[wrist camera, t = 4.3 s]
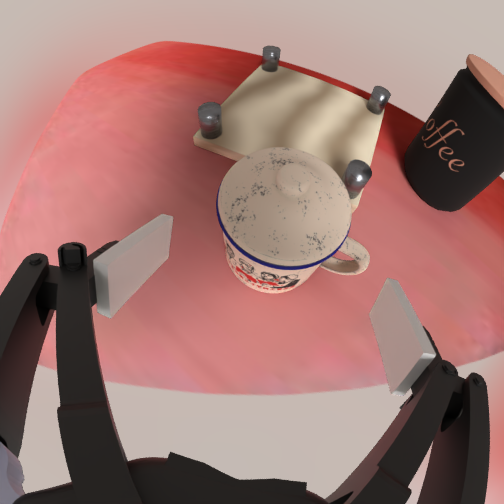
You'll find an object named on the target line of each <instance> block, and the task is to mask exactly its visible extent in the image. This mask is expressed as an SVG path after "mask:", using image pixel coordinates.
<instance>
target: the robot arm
mask: <svg viewBox="0 0 504 504" xmlns="http://www.w3.org/2000/svg"><path fill="white" fill-rule="evenodd" d="M172 225H173V216H169V215H165V214H161V215H159V216H158V217H156V218H154V219H153V220H151V221H150V222H148V223H147V224H145V225H144V226H142V227H140V228H139V229H137V230H136V231H134V232H133V233H131V234H130V235H128V236H127V237H125V238H124V239H122V240H121V241H120V242H119V241H113V242H109V243H107V244H105V245H104V246H102V247H101V248H99V249H98V250H96V251H95V252H94V253H92V254H91V255H89V256H88V257H87V249H86V246H85V245H83V244H81V243H78V242H71V243H66V244H63V245H62V246H60V247H59V249H58V258H59V266H60V267H58V266H53V265H49V262H48V257H47V256H46V255H44V254H41V253H34V254H31V255H29V256H27V257H26V258H25V259H24V260H23V262H22V263H21V265H20V266H19V267H18V269H17V270H16V272H15V273H14V275H13V276H12V278H11V280H10V281H9V283H8V284H7V286H6V287H5V289H4V291H3V292H2V294H1V296H0V504H405V503H406V502H407V500H408V499H409V497H410V495H411V489H409V488H408V486H409V484H410V482H411V481H412V479H413V477H414V475H415V474H416V472H417V470H418V468H419V467H420V465H421V463H422V461H423V459H424V457H425V455H426V454H427V452H428V450H429V448H430V446H431V443H432V441H433V445H432V449H431V454H430V459H429V463H428V468H427V471H426V475H425V479H424V482H423V486H422V489H421V493H420V496H419V499H418V502H417V504H484V503H485V497H486V489H487V481H488V470H489V451H490V450H489V449H490V424H489V407H488V406H489V405H488V394H487V386H486V382H485V381H484V378H483V377H482V376H481V375H479V374H477V373H471V374H470V375H469V376H468V377H467V378H466V379H464V378H462V377H459V376H458V372H457V369H456V368H455V367H454V365H452V364H451V363H450V362H448V361H446V360H442V358H441V356H440V354H439V351H438V349H437V347H436V346H435V343H434V341H433V340H432V337H431V335H430V333H429V332H428V331H427V330H426V328H425V327H424V326H422V324H421V322H420V321H419V319H418V317H417V315H416V313H415V311H414V309H413V307H412V305H411V304H410V302H409V300H408V298H407V296H406V295H405V293H404V291H403V289H402V288H401V286H400V284H399V282H398V281H397V280H394V279H390V278H387V279H386V281H385V283H384V285H383V287H382V289H381V291H380V293H379V295H378V297H377V299H376V301H375V303H374V305H373V307H372V309H371V311H370V313H369V316H370V320H371V323H372V326H373V329H374V333H375V336H376V340H377V343H378V346H379V350H380V354H381V357H382V361H383V365H384V368H385V372H386V376H387V380H388V384H389V388H390V392H391V395H400V396H404V395H405V394H406V392H407V391H408V390H409V389H410V388H411V390H412V393H413V394H412V395H411V396H410V397H409V398H408V399H407V400H406V401H405V402H404V404H403V405H402V406H401V407H400V409H401V410H400V412H399V414H398V415H397V416H396V418H395V420H394V421H393V422H392V424H391V425H390V426H389V428H388V429H387V431H386V432H385V433H384V435H383V436H382V437H381V439H380V440H379V441H378V443H377V444H376V445H375V446H374V448H373V449H372V450H371V451H370V453H369V454H368V455H367V457H366V458H365V459H364V460H363V461H362V462H361V463H360V465H359V466H358V467H357V468H356V469H355V470H354V471H353V473H352V474H351V475H350V476H349V477H348V478H347V479H346V480H345V481H344V483H342V484H341V486H340V487H339V488H338V489H337V490H336V491H335V492H333V493H332V494H331V495H330V496H328V497H327V498H326V499H323V498H322V497H320V496H318V495H317V494H314V493H312V492H310V491H308V490H306V486H307V483H306V482H297V481H289V480H281V479H255V480H239V479H235V478H233V477H231V476H229V475H227V474H225V473H223V472H221V471H219V470H217V469H215V468H212V467H211V466H209V465H207V464H205V463H203V462H200V461H196V460H193V459H190V458H187V457H184V456H181V455H178V454H175V453H172V452H170V454H169V456H168V458H158V457H149V458H140V459H135V460H131V461H128V460H127V457H126V455H125V452H124V449H123V447H122V444H121V441H120V438H119V435H118V432H117V429H116V426H115V422H114V419H113V415H112V412H111V409H110V404H109V401H108V397H107V393H106V389H105V384H104V380H103V375H102V371H101V366H100V361H99V355H98V350H97V344H96V337H95V331H94V323H93V315H92V308H91V307H92V306H93V305H94V304H95V303H97V311H98V313H100V314H102V315H104V316H106V317H108V318H112V317H113V316H114V315H115V314H116V313H117V311H118V310H119V309H120V308H121V307H122V306H123V305H124V304H125V303H126V302H127V301H128V300H129V298H130V297H131V296H132V295H133V294H134V293H135V292H136V291H137V290H138V289H139V288H140V287H141V286H142V285H143V284H144V283H145V282H146V281H147V279H148V278H149V277H150V276H151V275H152V274H153V273H154V272H155V271H156V270H157V269H158V268H159V267H160V266H161V265H162V264H163V263H164V262H165V261H166V260H167V259H168V258H169V250H170V241H171V233H172ZM55 310H56V357H57V374H58V385H59V395H60V407H58V409H57V414H58V422H59V428H60V434H61V439H62V444H63V449H64V453H65V458H66V462H67V466H68V470H69V474H70V477H71V480H72V482H70V483H66V484H63V485H59V486H56V487H52V488H48V489H44V490H40V491H35V492H31V493H27V494H25V492H24V490H23V487H22V483H23V481H24V475H23V470H22V466H21V464H20V461H19V460H18V456H19V452H20V449H21V445H22V439H23V433H24V425H25V419H26V413H27V407H28V402H29V397H30V393H31V388H32V384H33V379H34V375H35V371H36V367H37V364H38V360H39V356H40V353H41V350H42V346H43V343H44V340H45V337H46V334H47V331H48V328H49V325H50V322H51V319H52V316H53V313H54V311H55Z"/></svg>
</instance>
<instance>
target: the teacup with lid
mask: <svg viewBox="0 0 504 504" xmlns="http://www.w3.org/2000/svg"><path fill="white" fill-rule="evenodd" d="M216 209H217V216H218V220H219V223H220V226H221V228H222V230H223V237H224V246H225V254H226V258H227V261H228V264H229V266H230V268H231V270H232V271H233V273H234V274H235V276H236V277H237V278H238V279H239V280H240V281H241V282H243V283H244V284H245V285H247V286H249V287H250V288H252V289H255V290H257V291H260V292H265V293H282V292H286V291H290V290H292V289H294V288H296V287H298V286H300V285H301V284H302V283H304V282H305V281H306V280H307V279H308V278H309V277H310V275H311V274H312V273H313V272H314V271H315V270H316V269H317V268H318V267H321V268H324V269H326V270H328V271H331V272H333V273H337V274H341V275H356V274H359V273H362V272H363V271H365V270H366V268H367V267H368V264H369V260H370V256H369V253H368V251H367V250H366V249H365V248H364V246H362V245H361V244H360V243H359V242H357V241H355V240H354V239H352V238H350V237H348V236H347V235H348V233H349V229H350V225H351V216H352V209H351V201H350V198H349V194H348V192H347V189H346V187H345V185H344V183H343V182H342V180H341V178H340V177H339V176H338V174H337V173H336V172H335V171H334V170H333V169H332V168H331V167H330V166H329V165H328V164H326V163H325V162H324V161H322V160H321V159H319V158H317V157H316V156H314V155H312V154H309V153H307V152H304V151H301V150H297V149H293V148H285V147H274V148H266V149H262V150H258V151H255V152H253V153H250V154H248V155H247V156H245V157H243V158H242V159H240V160H239V161H238V162H236V163H235V164H234V165H233V166H232V167H231V168H230V170H229V171H228V172H227V174H226V175H225V177H224V179H223V180H222V182H221V184H220V187H219V190H218V194H217V201H216ZM337 251H340V252H342V253H344V254H346V255H348V256H350V257H351V258H353V259H354V260H352V261H346V260H341V259H337V258H334V257H332V255H334V254H335V253H336V252H337Z"/></svg>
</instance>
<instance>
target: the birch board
mask: <svg viewBox="0 0 504 504" xmlns="http://www.w3.org/2000/svg"><path fill="white" fill-rule="evenodd" d="M261 67H262V65H260V66H259V67H258V68H257V69H256V70H255V71H254V72H253V73H252V74H251V75H250V76H249V77H248V78H247V79H246V80H245V81H244V82H243V83H242V84H241V85H240V86H239V87H238V88H237V89H236V90H235V91H234V92H233V93H232V94H231V95H230V96H229V97H228V98H227V99H226V100H225V101H224V102H223V103H222V105H221V114H222V134H221V135H220V136H219V137H218V138H216V139H205V138H203V137H202V135H201V131H200V129H199V130H198V131H197V132H196V134H195V135H194V136H193V139H194V145H195V146H198V147H201V148H204V149H206V150H209V151H212V152H214V153H217V154H220V155H222V156H225V157H227V158H230V159H233V160H235V161H239V160H240V159H242V158H243V157H245V156H247V155H248V154H250V153H253V152H255V151H258V150H262V149H266V148H274V147H285V148H293V149H297V150H301V151H304V152H307V153H309V154H312V155H314V156H316V157H317V158H319V159H321V160H322V161H324V162H325V163H326V164H328V165H329V166H330V167H331V168H332V169H333V170H334V171H335V172H336V173H337V174H338V176H339V177H340V178H341V177H342V176H343V174H344V172H345V170H346V168H347V166H348V164H349V163H350V161H352V160H355V159H358V160H362V161H364V162H365V163H367V164H368V165H369V167H370V164H371V161H372V157H373V153H374V150H375V146H376V142H377V138H378V135H379V131H380V127H381V122H382V118H383V114H384V110H385V109H383V111H382V113H381V114H380V115H376V114H373V113H371V112H370V111H369V110H368V109H367V107H366V105H367V103H368V100H366V99H364V98H362V97H360V96H358V95H355V94H353V93H351V92H349V91H346V90H344V89H342V88H339V87H337V86H335V85H332V84H330V83H327V82H325V81H322V80H319V79H317V78H314V77H311V76H308V75H306V74H303V73H300V72H297V71H294V70H291V69H288V68H285V67H281V66H278V70H277V71H276V72H266V71H264V70H262V68H261ZM362 191H363V189H362ZM362 191H361V192H360V193H359V195H358V196H357V197H356V198H354V199H350V201H351V209H352V213H353V212H354V211H355V209H356V208H357V207H358V204H359V201H360V197H361V194H362Z"/></svg>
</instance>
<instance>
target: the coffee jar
mask: <svg viewBox="0 0 504 504" xmlns="http://www.w3.org/2000/svg"><path fill="white" fill-rule="evenodd" d="M466 64H467V68H466V69H461V70H460V71H458V73H457V75H456V76H455V78H454V80H453V81H452V83H451V84H450V86H449V88H448V89H447V91H446V92H445V94H444V95H443V97H442V98H441V100H440V102H439V103H438V105H437V106H436V108H435V109H434V111H433V112H432V114H431V115H430V117H429V118H428V120H427V121H426V123H425V124H424V126H423V127H422V128H421V130H420V131H419V133H418V134H417V136H416V137H415V138H414V140H413V141H412V143H411V144H410V146H409V147H408V149H407V151H406V153H405V172H406V175H407V178H408V181H409V182H410V184H411V186H412V188H413V189H414V191H415V192H416V193H417V194H418V195H419V197H420V198H421V199H422V200H423V201H425V202H426V203H427V204H428V205H429V206H431V207H433V208H435V209H437V210H442V211H449V212H453V211H456V210H459V209H461V208H462V207H463V206H464V205H466V204H467V203H468V202H469V201H471V200H472V199H473V198H474V197H475V196H476V195H478V194H479V193H480V192H481V191H482V190H484V189H485V188H486V187H487V186H488V185H489V184H490V183H492V182H493V181H494V180H495V179H496V178H497V177H498V176H499V175H500V174H501V173H503V172H504V75H502V74H501V73H500V72H499V71H498V70H497V69H495V68H494V67H493V66H492V65H490V64H489V63H488V62H486V61H484V60H483V59H481V58H479V57H477V56H475V55H473V54H469V55H468V57H467V59H466Z"/></svg>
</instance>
